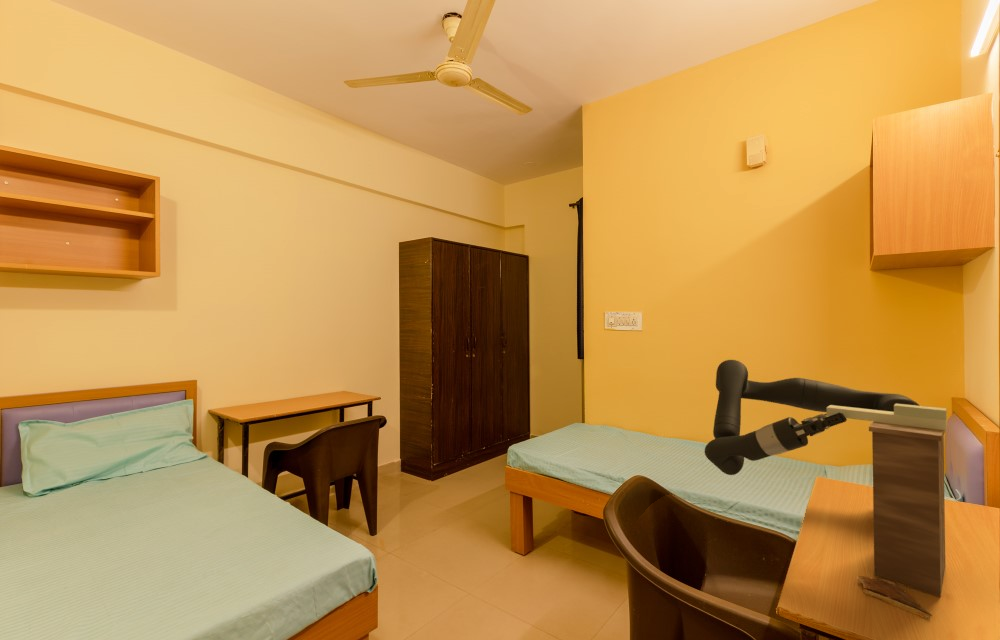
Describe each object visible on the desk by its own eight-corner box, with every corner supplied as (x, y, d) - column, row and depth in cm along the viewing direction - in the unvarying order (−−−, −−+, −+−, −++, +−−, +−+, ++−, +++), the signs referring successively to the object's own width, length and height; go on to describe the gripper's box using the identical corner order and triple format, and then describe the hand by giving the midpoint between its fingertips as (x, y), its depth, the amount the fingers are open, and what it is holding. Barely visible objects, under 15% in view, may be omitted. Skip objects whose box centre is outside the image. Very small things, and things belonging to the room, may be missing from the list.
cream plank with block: (830, 413, 107) (830, 396, 107) (947, 427, 92) (946, 408, 92) (826, 415, 105) (826, 399, 105) (946, 430, 90) (945, 411, 90)
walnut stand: (883, 547, 105) (881, 414, 105) (948, 566, 97) (946, 421, 97) (871, 575, 94) (868, 426, 94) (944, 599, 86) (941, 436, 86)
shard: (932, 623, 80) (932, 613, 80) (883, 617, 82) (883, 607, 82) (894, 588, 90) (894, 579, 90) (851, 583, 92) (851, 574, 92)
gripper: (763, 427, 110) (831, 402, 100) (780, 418, 120) (844, 395, 109) (780, 457, 107) (852, 434, 97) (797, 445, 117) (864, 423, 107)
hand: (848, 413), depth 103 cm, fingers open, 8 cm apart
